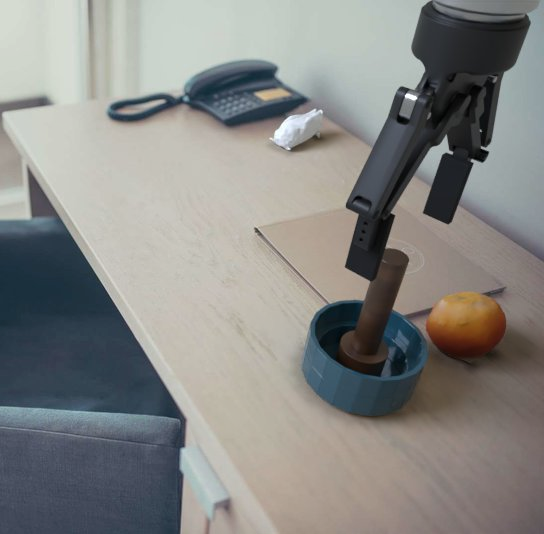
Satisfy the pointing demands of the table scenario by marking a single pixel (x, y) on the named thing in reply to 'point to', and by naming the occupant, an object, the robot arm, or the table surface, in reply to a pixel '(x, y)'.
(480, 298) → the fruit
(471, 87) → the robot arm
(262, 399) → the table surface
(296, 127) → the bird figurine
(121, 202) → the table surface
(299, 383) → the table surface
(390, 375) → the bowl
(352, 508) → the table surface
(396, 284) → the muddler
